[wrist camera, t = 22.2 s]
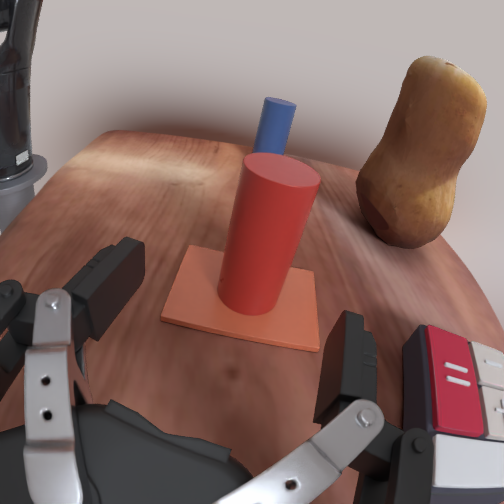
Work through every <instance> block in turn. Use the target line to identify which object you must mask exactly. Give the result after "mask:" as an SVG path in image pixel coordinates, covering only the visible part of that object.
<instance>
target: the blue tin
mask: <svg viewBox="0 0 504 504" xmlns="http://www.w3.org/2000/svg"><path fill="white" fill-rule="evenodd" d="M295 110H296V105H295V104H293V103H291V102H288V101H285V100H282V99H277V98H271V97H266V98H265V100H264V105H263V109H262V113H261V117H260V121H259V126H258V131H257V134H256V139H255V143H254V147H253V152H252V153H274V154H279V155H283V154H284V150H285V146H286V143H287V139H288V135H289V132H290V128H291V124H292V121H293V117H294V113H295Z"/></svg>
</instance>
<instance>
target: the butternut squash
mask: <svg viewBox="0 0 504 504" xmlns="http://www.w3.org/2000/svg"><path fill="white" fill-rule="evenodd" d="M486 107H487V101H486V96H485V93H484V91H483V90H482V88H481V86H480V85H479V84H478V83H477V82H476V81H475V79H474V78H472V77H471V76H470V75H469V74H468V73H466V72H465V71H463V70H462V69H460V68H459V67H458V66H456V65H455V64H453V63H451V62H449V61H447V60H444V59H441V58H436V57H433V56H423V57H420V58H418V59H416V60H415V61H414V62H413V63H412V64H411V66H410V67H409V69H408V71H407V74H406V77H405V79H404V81H403V83H402V87H401V91H400V95H399V98H398V101H397V103H396V105H395V107H394V109H393V112H392V115H391V117H390V120H389V122H388V125H387V127H386V130H385V133H384V135H383V137H382V139H381V141H380V143H379V144H378V145H377V147H376V148H375V149H374V151H373V152H372V153H371V155H370V156H369V158H368V160H367V161H366V163H365V164H364V166H363V168H362V169H361V170H360V172H359V175H358V177H357V180H356V188H357V197H358V201H359V206H360V209H361V212H362V214H363V215H364V217H365V218H366V219H367V221H368V222H369V223H370V225H371V226H372V227H373V229H374V231H375V233H376V235H377V236H378V237H380V238H381V239H382V240H383V241H385V242H386V243H387V244H388V245H395V246H398V247H401V248H405V249H414V248H418V247H421V246H423V245H425V244H426V243H429V242H431V241H433V240H435V239H436V238H437V237H438V236H439V235H440V234H441V233H442V231H443V230H444V229H445V227H446V225H447V224H448V222H449V220H450V217H451V213H452V209H453V204H454V198H455V188H456V179H457V176H458V173H459V170H460V168H461V166H462V165H463V164H464V162H465V161H466V159H468V158H469V156H470V155H471V153H472V151H473V150H474V148H475V145H476V143H477V140H478V137H479V134H480V130H481V128H482V125H483V122H484V118H485V113H486Z"/></svg>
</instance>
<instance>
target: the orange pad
mask: <svg viewBox="0 0 504 504" xmlns="http://www.w3.org/2000/svg"><path fill="white" fill-rule="evenodd" d="M223 256H224V252H221V251H217V250H212V249H208V248H203V247H199V246H194V245H189V246H188V249H187V251H186V254H185V256H184V258H183V261H182V263H181V266H180V268H179V271H178V273H177V275H176V278H175V280H174V283H173V285H172V288H171V290H170V293H169V295H168V298H167V301H166V303H165V306H164V308H163V311H162V313H161V321H164V322H168V323H172V324H176V325H180V326H185V327H189V328H193V329H197V330H202V331H206V332H210V333H215V334H220V335H224V336H229V337H234V338H239V339H244V340H249V341H254V342H259V343H264V344H270V345H275V346H281V347H287V348H293V349H299V350H305V351H312V352H318V350H319V348H320V345H319V330H318V317H317V305H316V293H315V283H314V272H312V271H307V270H303V269H298V268H294V267H290V269H289V271H288V274H287V277H286V279H285V282H284V285H283V287H282V290H281V293H280V295H279V298H278V300H277V303H276V305H275V307H274V308H273V309H272V310H271V311H269V312H267V313H265V314H262V315H257V316H250V315H243V314H240V313H237V312H235V311H233V310H231V309H230V308H228V307H227V306H226V305H225V304H224V303H223V302H222V301H221V299H220V298H219V295H218V291H217V287H218V282H219V276H220V271H221V266H222V261H223Z"/></svg>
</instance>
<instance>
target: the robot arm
mask: <svg viewBox="0 0 504 504" xmlns="http://www.w3.org/2000/svg"><path fill="white" fill-rule="evenodd" d="M42 2H43V0H0V32H4V31H7V34H6V38H5V40H4V42H3V43H2V44H1V45H0V183H3V182H8V181H11V180H14V179H17V178H19V177H21V176H23V175H25V174H26V173H28V172H29V171H30V170H31V169H32V168H33V166H34V162H33V158H32V145H31V127H30V126H31V124H30V76H31V59H32V54H33V50H34V45H35V39H36V32H37V26H38V20H39V16H40V11H41V7H42ZM144 276H145V246H144V243H143V242H141V241H138V240H135V239H132V238H130V237H124V238H123V239H122V240H121V241H120V242H119V243H118V244H117V245H116V246H114V245H110V246H108V247H106V248H104V249H101V250H100V251H99V252H98V253H97V254H96V255H95V256H94V257H93V259H91V260H90V261H89V262H88V263H87V264H86V266H84V267H83V268H82V269H81V270H80V271H79V272H78V273H77V274H76V275H75V276H74V277H73V278H72V279H71V280H70V281H69V282H68V283H67V284H66V285H65V286H64V287H63V288H62V289H60V288H52V289H49V290H46V291H45V292H43V293H42V294H41V295H37V294H32V293H27V292H24V291H23V288H22V285H21V284H20V283H19V282H18V281H16V280H6V281H3V282H1V283H0V335H1V334H2V333H3V331H4V330H5V329H6V328H7V329H8V332H7V333H6V335H5V336H4V337H3V338H2V340H1V341H0V401H1V400H2V398H3V397H4V395H5V393H6V392H7V390H8V389H9V387H10V386H11V384H12V382H13V381H14V379H15V378H16V376H17V375H18V373H19V372H20V370H21V369H22V367H23V366H24V364H25V368H24V412H25V425H22V426H19V427H15V428H12V429H9V430H6V431H3V432H0V504H309V503H310V502H312V501H313V500H314V499H315V498H316V497H318V496H319V495H320V494H321V493H322V492H323V491H325V490H326V489H327V488H328V487H329V486H330V485H331V484H332V483H334V482H335V481H336V480H337V479H338V478H339V477H340V475H341V474H342V473H341V472H342V471H343V469H344V468H345V467H347V466H349V467H350V468H352V469H354V470H356V471H358V472H359V477H358V482H357V487H356V492H355V496H354V501H353V504H430V499H431V488H432V476H433V458H434V444H433V440H432V438H431V436H430V435H429V434H428V433H427V432H426V431H425V430H423V429H421V428H412V429H409V430H408V431H406V432H405V431H403V430H401V429H399V428H397V427H395V426H393V425H391V424H390V423H388V422H387V421H386V420H385V419H384V416H383V413H382V411H381V409H380V408H379V407H378V406H377V402H376V396H377V368H376V366H377V358H376V356H377V352H376V342H375V340H374V338H373V335H372V333H371V332H368V331H365V330H364V318H363V315H360V314H356V313H353V312H350V311H347V310H344V311H343V312H342V313H341V315H340V317H339V319H338V320H337V322H336V324H335V326H334V327H333V329H332V331H331V332H330V334H329V336H328V338H327V341H326V343H325V347H324V353H323V360H322V368H321V375H320V382H319V388H318V395H317V401H316V407H315V413H314V418H313V423H317V424H321V430H320V431H319V432H317V433H316V434H315V435H314V436H312V437H311V438H310V439H308V440H307V441H305V442H304V443H302V444H301V445H300V446H299V447H297V448H296V449H295V450H293V451H292V452H291V453H289V454H288V455H287V456H285V457H284V458H282V459H281V460H280V461H278V462H277V463H275V464H274V465H272V466H271V467H270V468H268V469H267V470H265V471H264V472H262V473H261V474H259V475H258V476H256V477H255V478H254V477H253V476H252V474H251V473H250V472H249V471H248V470H247V468H245V467H244V466H243V465H242V464H241V463H240V462H239V461H237V460H236V459H235V458H233V457H231V456H230V452H231V449H229V448H226V447H223V446H220V445H217V444H214V443H211V442H208V441H206V440H203V439H200V438H192V437H185V436H178V435H172V434H167V433H164V432H163V431H161V430H160V429H158V428H157V427H156V426H154V425H153V424H152V423H151V422H149V421H148V420H147V419H145V418H144V417H143V416H142V415H140V414H139V413H138V412H136V411H134V410H131V409H129V408H127V407H125V406H123V405H121V404H119V403H117V402H115V401H114V400H112V399H111V400H110V401H109V403H108V405H103V404H94V403H93V399H92V395H91V392H90V388H89V381H88V372H87V361H86V348H85V341H86V340H87V339H88V337H90V338H92V339H94V340H96V341H99V339H100V338H101V337H102V335H103V334H104V333H105V331H106V330H107V328H108V327H109V326H110V324H111V323H112V322H113V320H114V319H115V318H116V317H117V315H118V314H119V313H120V311H121V310H122V309H123V307H124V306H125V305H126V303H127V302H128V301H129V300H130V298H131V297H132V296H133V294H134V293H135V292H136V291H137V289H138V288H139V287H140V285H141V284H142V282H143V279H144Z"/></svg>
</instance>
